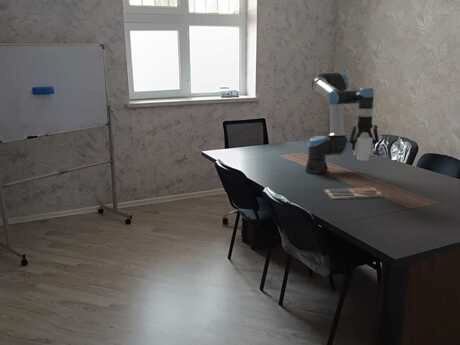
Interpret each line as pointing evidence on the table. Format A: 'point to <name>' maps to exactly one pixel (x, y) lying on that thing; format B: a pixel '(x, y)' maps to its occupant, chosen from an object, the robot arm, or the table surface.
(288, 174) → the table surface
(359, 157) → the foam cup
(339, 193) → the sorting board
